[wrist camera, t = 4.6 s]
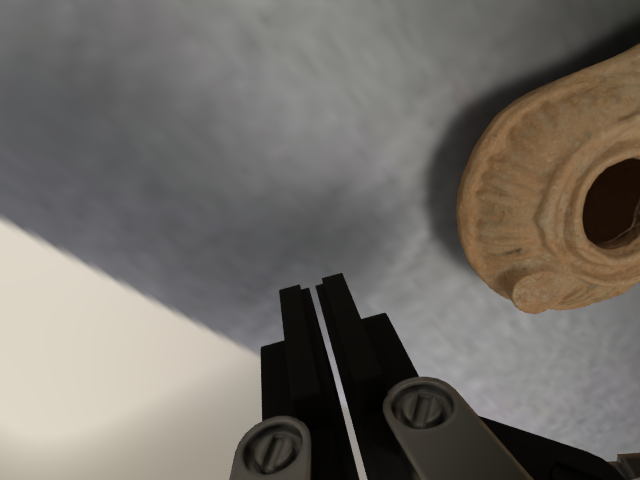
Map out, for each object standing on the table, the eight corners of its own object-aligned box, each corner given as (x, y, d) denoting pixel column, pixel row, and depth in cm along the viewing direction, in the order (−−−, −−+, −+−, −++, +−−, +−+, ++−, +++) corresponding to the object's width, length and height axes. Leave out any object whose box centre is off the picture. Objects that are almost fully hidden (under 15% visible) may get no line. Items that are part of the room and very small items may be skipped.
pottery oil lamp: (758, 77, 18) (928, 207, 13) (482, 224, 23) (541, 350, 19) (759, -130, 12) (1058, -17, 8) (392, 131, 17) (447, 281, 13)
